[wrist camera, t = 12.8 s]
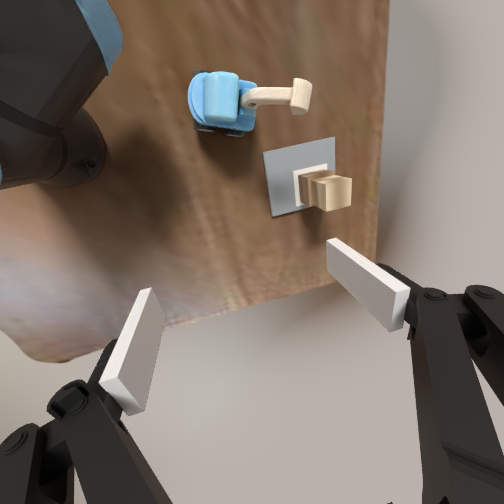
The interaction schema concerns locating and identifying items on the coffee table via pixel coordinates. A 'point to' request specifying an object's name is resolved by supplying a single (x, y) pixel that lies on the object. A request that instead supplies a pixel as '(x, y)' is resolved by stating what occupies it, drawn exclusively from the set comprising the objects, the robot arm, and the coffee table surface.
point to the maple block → (331, 192)
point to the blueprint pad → (294, 171)
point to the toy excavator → (238, 101)
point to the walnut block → (306, 184)
